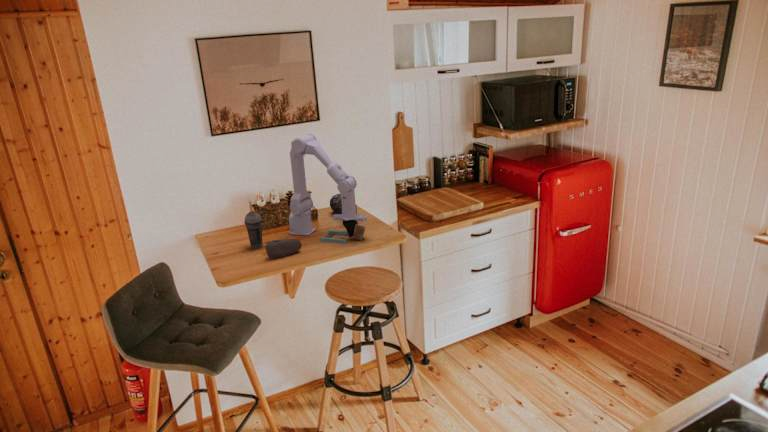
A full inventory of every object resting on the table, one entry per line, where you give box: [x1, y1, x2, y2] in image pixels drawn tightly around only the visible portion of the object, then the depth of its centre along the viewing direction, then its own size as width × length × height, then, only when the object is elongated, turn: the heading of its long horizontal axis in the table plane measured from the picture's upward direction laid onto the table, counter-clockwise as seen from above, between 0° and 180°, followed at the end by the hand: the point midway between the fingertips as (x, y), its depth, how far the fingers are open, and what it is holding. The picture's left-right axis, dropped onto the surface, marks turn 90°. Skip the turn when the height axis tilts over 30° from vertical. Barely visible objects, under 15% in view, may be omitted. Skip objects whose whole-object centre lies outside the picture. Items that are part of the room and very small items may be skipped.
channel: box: [319, 229, 349, 244], centre depth 226 cm, size 12×10×2 cm
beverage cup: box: [244, 200, 263, 250], centre depth 219 cm, size 7×7×20 cm
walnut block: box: [351, 224, 366, 242], centre depth 223 cm, size 4×4×5 cm
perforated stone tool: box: [264, 238, 303, 259], centre depth 211 cm, size 15×5×7 cm, turn 115°
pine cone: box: [329, 193, 342, 216], centre depth 254 cm, size 10×18×10 cm, turn 32°
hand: (351, 236), depth 224 cm, fingers closed
